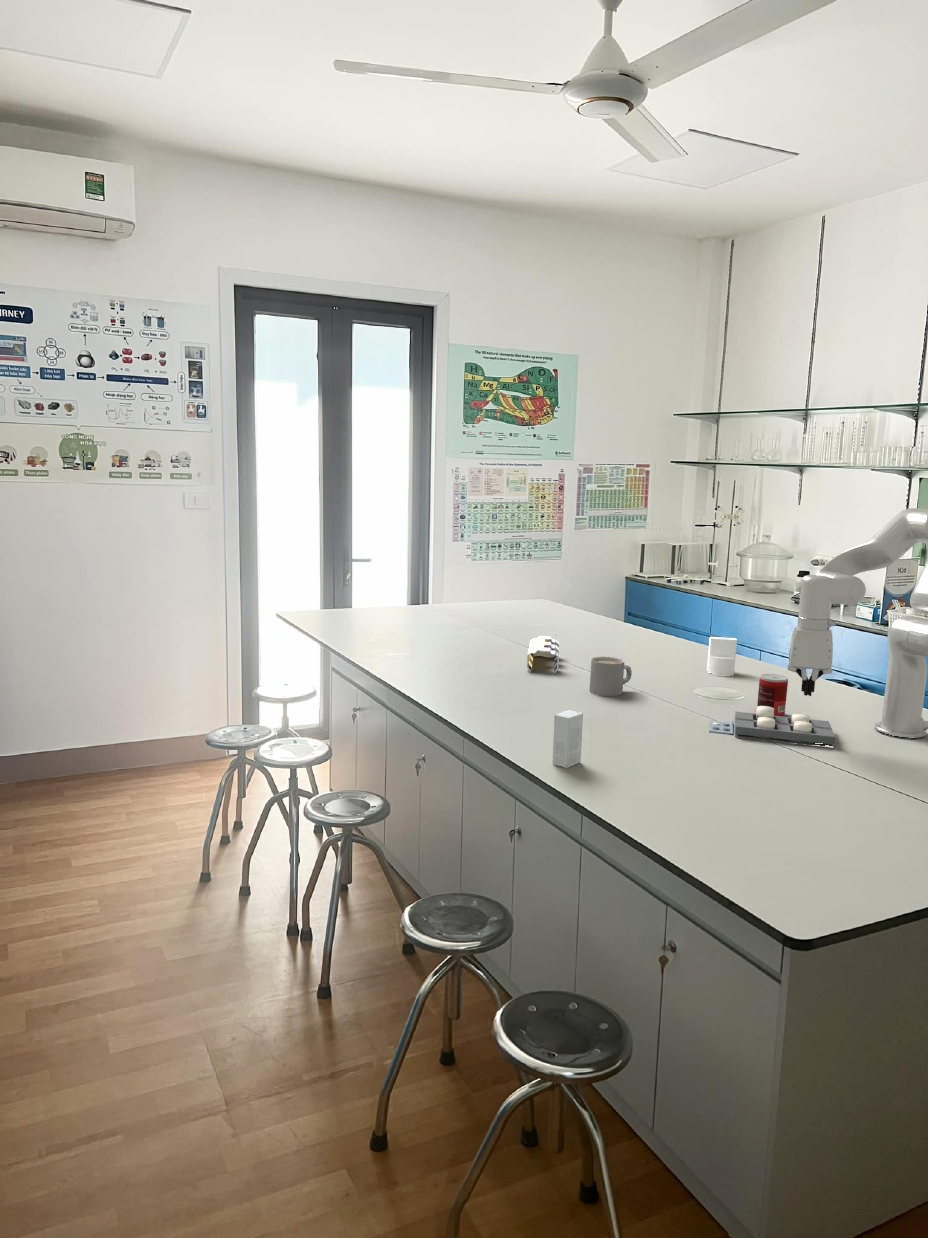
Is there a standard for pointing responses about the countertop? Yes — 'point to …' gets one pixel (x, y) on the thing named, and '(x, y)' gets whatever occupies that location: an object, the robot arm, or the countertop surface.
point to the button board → (776, 730)
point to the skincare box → (567, 738)
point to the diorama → (543, 650)
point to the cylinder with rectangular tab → (721, 655)
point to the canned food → (773, 692)
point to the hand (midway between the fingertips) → (807, 694)
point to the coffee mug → (608, 676)
